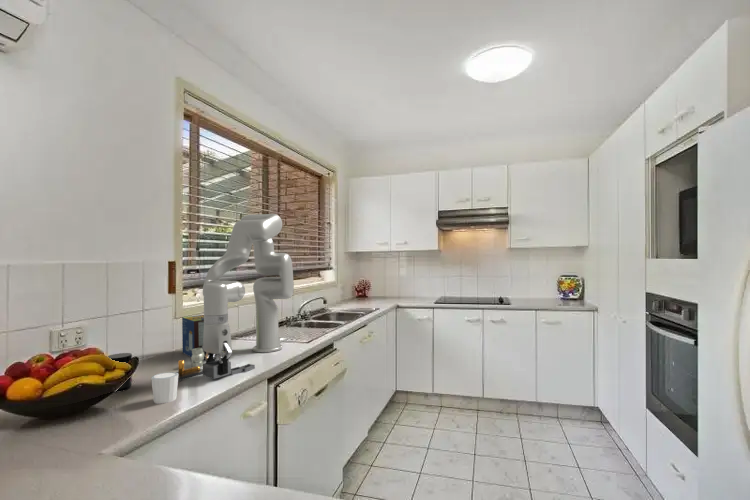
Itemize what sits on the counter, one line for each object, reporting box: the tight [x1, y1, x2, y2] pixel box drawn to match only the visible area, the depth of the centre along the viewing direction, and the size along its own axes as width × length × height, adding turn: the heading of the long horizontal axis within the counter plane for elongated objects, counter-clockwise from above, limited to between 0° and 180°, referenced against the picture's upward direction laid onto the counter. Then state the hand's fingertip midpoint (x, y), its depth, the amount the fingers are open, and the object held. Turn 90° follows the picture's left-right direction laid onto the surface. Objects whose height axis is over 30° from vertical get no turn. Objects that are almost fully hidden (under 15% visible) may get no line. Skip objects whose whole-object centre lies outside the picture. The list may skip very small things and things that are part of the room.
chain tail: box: [229, 363, 256, 376], centre depth 139 cm, size 10×4×1 cm, turn 145°
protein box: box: [181, 314, 217, 358], centre depth 167 cm, size 10×15×16 cm
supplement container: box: [107, 352, 133, 393], centre depth 121 cm, size 7×7×10 cm
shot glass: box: [150, 371, 179, 405], centre depth 111 cm, size 7×7×7 cm
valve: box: [190, 346, 206, 368], centre depth 150 cm, size 7×7×12 cm
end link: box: [202, 359, 232, 380], centre depth 132 cm, size 6×6×4 cm
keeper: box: [176, 359, 203, 382], centre depth 134 cm, size 11×7×6 cm, turn 145°
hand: (217, 372), depth 132 cm, fingers closed on end link, 6 cm apart
